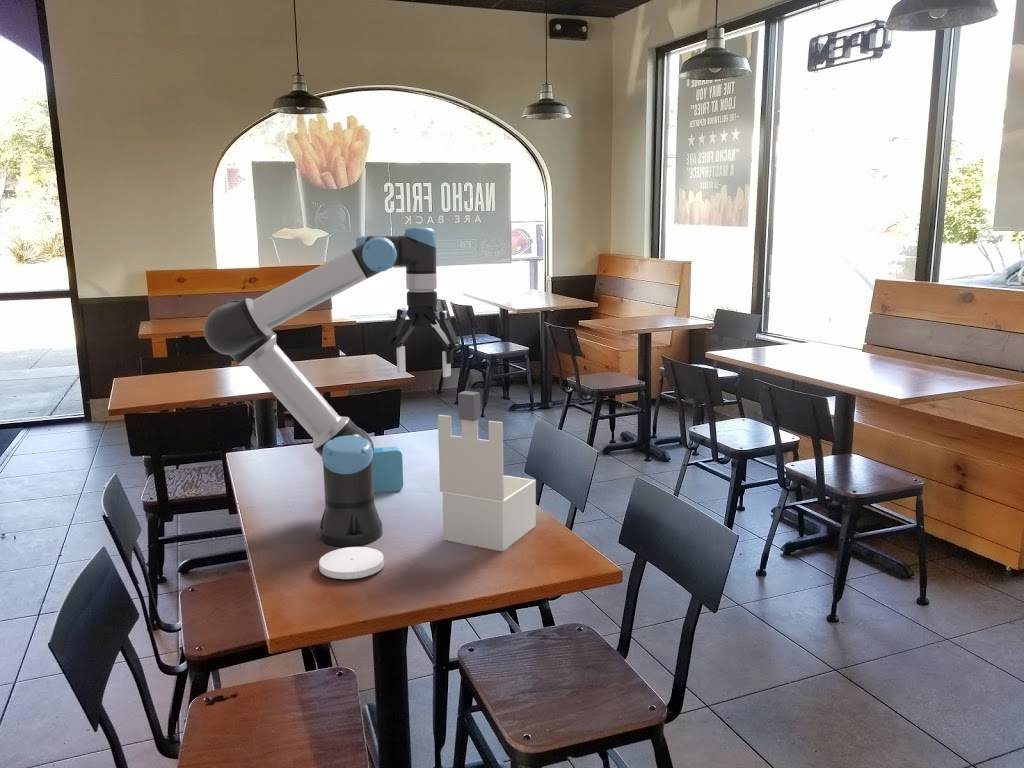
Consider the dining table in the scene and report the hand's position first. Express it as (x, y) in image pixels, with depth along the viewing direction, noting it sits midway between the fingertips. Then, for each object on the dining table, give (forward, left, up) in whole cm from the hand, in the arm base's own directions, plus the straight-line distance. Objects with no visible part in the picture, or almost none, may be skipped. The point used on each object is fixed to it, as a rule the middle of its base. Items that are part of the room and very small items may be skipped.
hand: (423, 374), depth 210 cm
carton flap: (-14, -22, -12) cm, 29 cm away
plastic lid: (-38, -4, -37) cm, 53 cm away
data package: (+9, +21, -37) cm, 43 cm away
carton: (-6, -22, -37) cm, 43 cm away
